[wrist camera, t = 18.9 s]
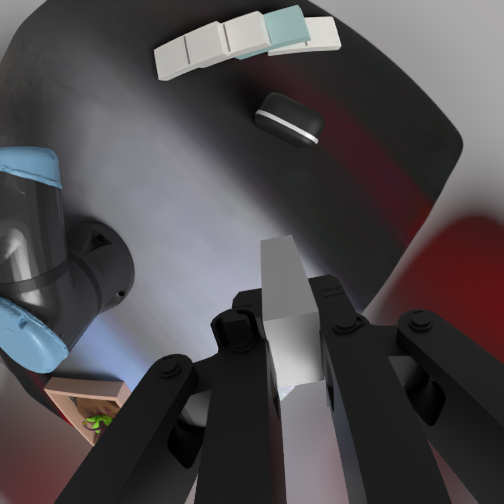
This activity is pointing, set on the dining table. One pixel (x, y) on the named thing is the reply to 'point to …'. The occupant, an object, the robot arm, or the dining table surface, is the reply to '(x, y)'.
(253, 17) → the domino
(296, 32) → the domino
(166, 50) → the domino
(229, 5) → the dining table surface
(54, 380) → the planter corral
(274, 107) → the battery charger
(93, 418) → the plant
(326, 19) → the end domino
